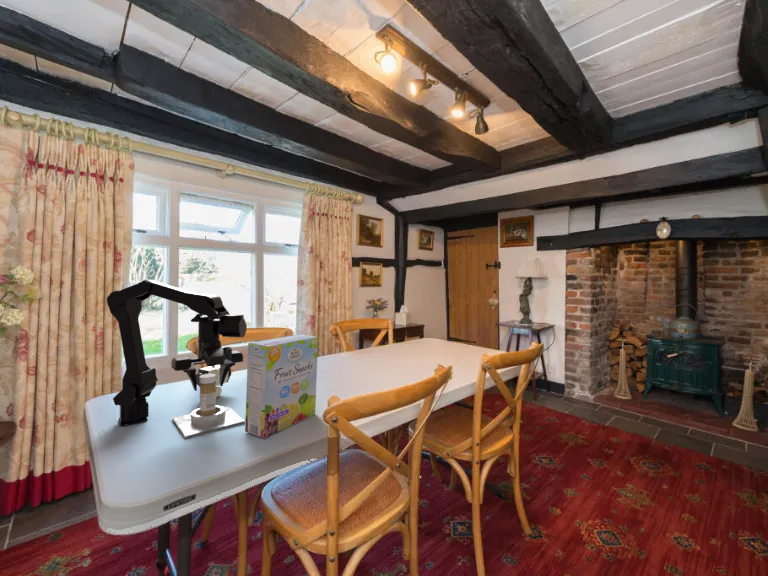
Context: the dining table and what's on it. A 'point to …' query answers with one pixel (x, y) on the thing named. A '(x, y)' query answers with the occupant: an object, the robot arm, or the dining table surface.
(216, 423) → the duct flange
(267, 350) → the snack box
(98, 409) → the dining table surface
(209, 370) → the pneumatic valve
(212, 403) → the sprinkles bottle
